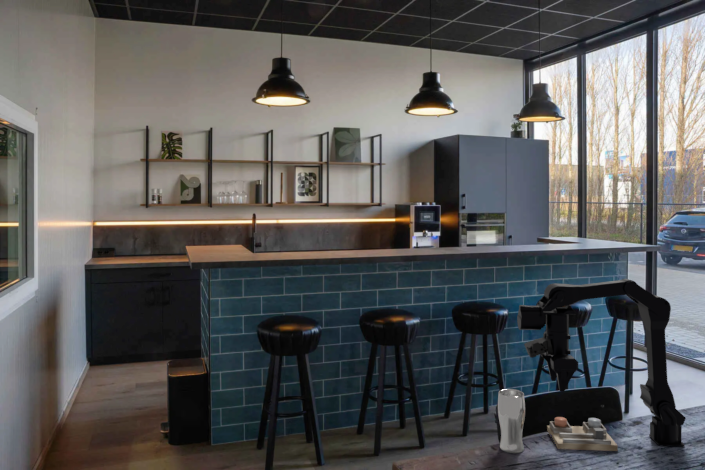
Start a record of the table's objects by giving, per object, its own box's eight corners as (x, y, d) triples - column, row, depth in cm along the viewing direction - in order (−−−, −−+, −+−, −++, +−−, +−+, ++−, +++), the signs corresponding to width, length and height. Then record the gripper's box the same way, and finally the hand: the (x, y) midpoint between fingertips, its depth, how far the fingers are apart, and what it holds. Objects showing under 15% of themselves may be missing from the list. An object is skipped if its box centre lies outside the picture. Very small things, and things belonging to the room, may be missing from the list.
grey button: (598, 423, 150) (598, 417, 150) (602, 428, 147) (602, 422, 147) (586, 423, 151) (586, 417, 151) (590, 427, 147) (590, 422, 147)
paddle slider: (601, 438, 143) (601, 427, 143) (603, 441, 141) (603, 431, 141) (593, 438, 144) (593, 427, 144) (595, 441, 142) (595, 430, 142)
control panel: (602, 432, 152) (602, 421, 151) (617, 451, 140) (617, 439, 140) (547, 430, 153) (547, 420, 153) (558, 449, 142) (557, 437, 141)
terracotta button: (565, 422, 151) (565, 417, 151) (568, 427, 148) (568, 421, 148) (553, 422, 152) (553, 416, 152) (556, 426, 149) (556, 421, 149)
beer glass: (528, 454, 139) (528, 397, 138) (501, 454, 139) (501, 397, 139) (520, 442, 146) (520, 388, 145) (495, 442, 146) (494, 388, 146)
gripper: (520, 322, 157) (521, 375, 158) (534, 337, 139) (534, 396, 139) (560, 323, 156) (560, 375, 157) (578, 338, 137) (579, 397, 138)
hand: (557, 385), depth 148 cm, fingers open, 9 cm apart
